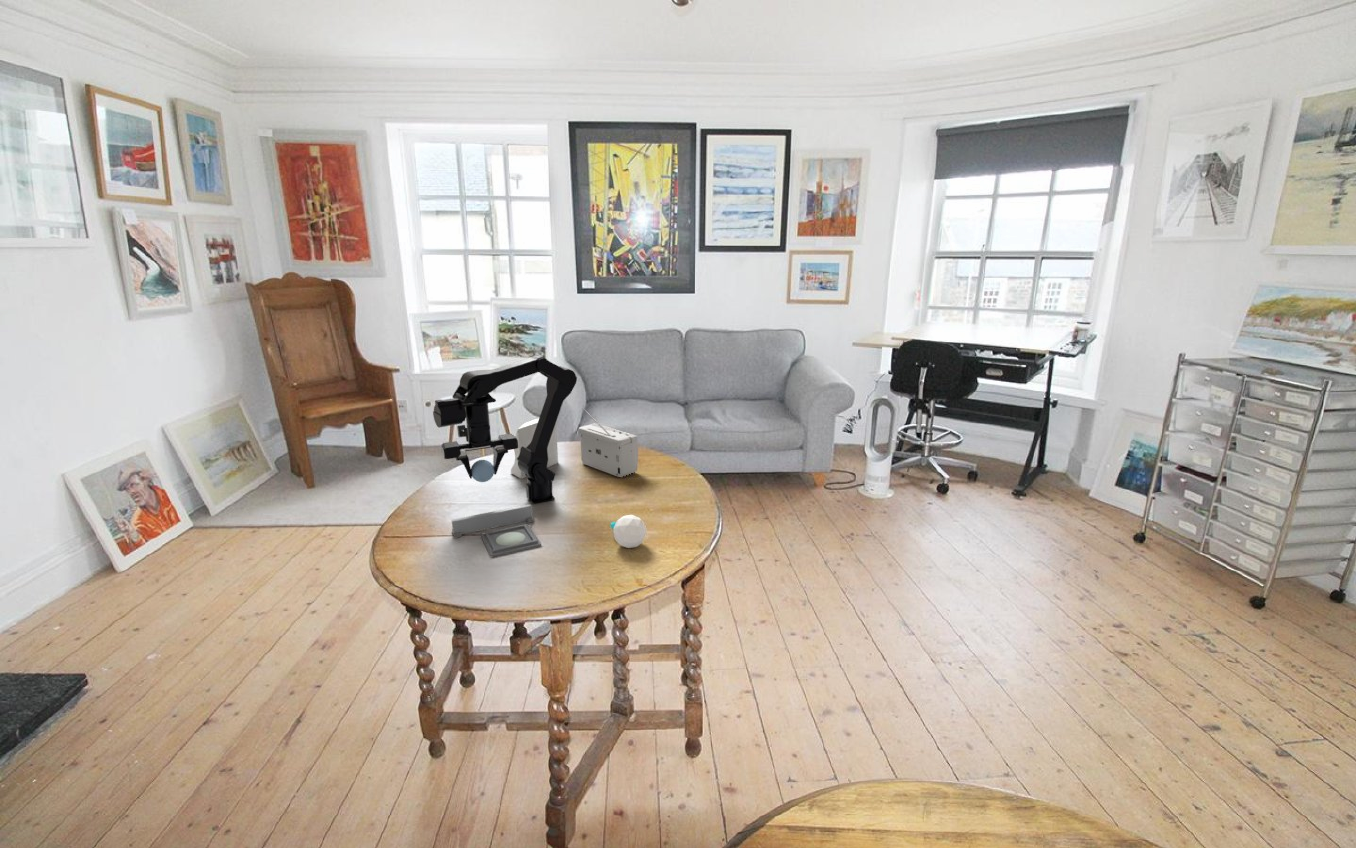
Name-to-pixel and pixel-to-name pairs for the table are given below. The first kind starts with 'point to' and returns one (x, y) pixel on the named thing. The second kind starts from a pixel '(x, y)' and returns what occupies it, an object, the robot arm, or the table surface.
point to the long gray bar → (491, 520)
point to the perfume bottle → (629, 531)
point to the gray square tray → (510, 540)
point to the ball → (482, 470)
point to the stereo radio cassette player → (608, 449)
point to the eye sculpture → (525, 438)
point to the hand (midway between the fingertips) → (483, 476)
